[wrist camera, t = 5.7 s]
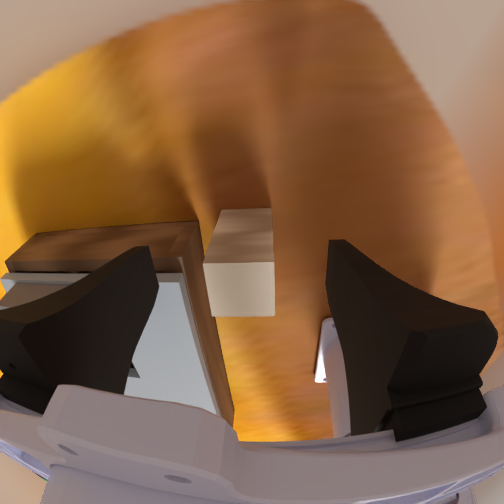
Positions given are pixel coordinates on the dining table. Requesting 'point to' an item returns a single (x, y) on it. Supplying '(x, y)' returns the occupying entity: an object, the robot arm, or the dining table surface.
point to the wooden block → (241, 264)
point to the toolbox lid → (144, 339)
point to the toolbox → (165, 261)
